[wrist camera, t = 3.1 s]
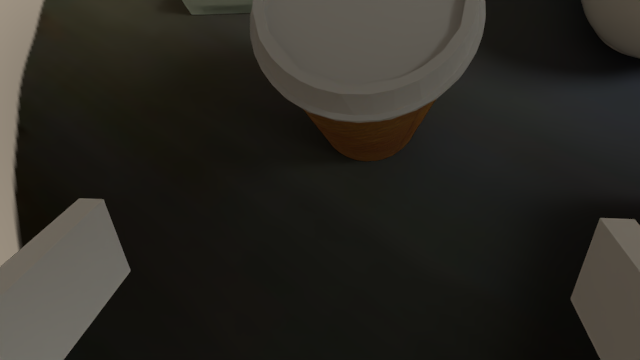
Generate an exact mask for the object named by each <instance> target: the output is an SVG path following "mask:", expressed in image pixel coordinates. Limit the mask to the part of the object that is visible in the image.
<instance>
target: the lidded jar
mask: <svg viewBox="0 0 640 360" xmlns="http://www.w3.org/2000/svg"><path fill="white" fill-rule="evenodd" d="M581 2H582V6H583V10H584V13H585V16H586V18H587V20H588V21H589V23H590V25H591V26H592V28H593V29H594V31H595V33H596V34H597V35H598V37H599V38H600V39H601V40H602V41H603V42H604V43H605V44H606V45H608V46H609V47H610V48H612V49H613V50H615V51H617V52H619V53H622V54H624V55H627V56H631V57H636V58H639V59H640V0H581Z"/></svg>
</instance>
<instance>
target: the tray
mask: <svg viewBox="0 0 640 360" xmlns="http://www.w3.org/2000/svg"><path fill="white" fill-rule="evenodd" d="M182 1H183V3H184V4H185V6H186V7H187V9H188V10H189V12H190V13H191V15H204V14H238V13H251V9H252V5H253V0H182Z"/></svg>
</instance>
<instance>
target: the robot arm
mask: <svg viewBox="0 0 640 360" xmlns="http://www.w3.org/2000/svg"><path fill="white" fill-rule="evenodd" d="M130 271H131V270H130V268H129V265H128V263H127V260H126V257H125V255H124V252H123V249H122V247H121V244H120V242H119V239H118V236H117V234H116V231H115V228H114V226H113V223H112V220H111V218H110V215H109V213H108V210H107V207H106V205H105V202H104V199H84V198H79V199H78V200H77V201H76V202H75V203H73V204H72V205H71V206H70V207H69V208H68V209H66V210H65V211H64V212H63V213H62V214H61V215H60V216H58V217H57V218H56V219H55V220H54V221H53V222H51V223H50V224H49V225H48V226H47V227H46V228H45V229H43V230H42V231H41V232H40V233H39V234H38V235H36V236H35V237H34V238H33V239H32V240H31V241H30V242H28V243H27V244H26V245H25V246H24V247H23V248H21V249H20V250H19V251H18V252H17V253H16V254H15V255H13V256H12V257H11V258H10V259H9V260H8V261H7V262H5V263H4V264H3V265H2V266H1V267H0V360H64V358H65V357H66V356H67V354H68V353H69V352H70V351H71V349H72V348H73V347H74V345H75V344H76V343H77V341H78V340H79V339H80V337H81V336H82V335H83V333H84V332H85V331H86V329H87V328H88V327H89V325H90V324H91V323H92V321H93V320H94V319H95V317H96V316H97V315H98V313H99V312H100V311H101V310H102V308H103V307H104V306H105V304H106V303H107V302H108V300H109V299H110V298H111V296H112V295H113V294H114V292H115V291H116V290H117V288H118V287H119V286H120V284H121V283H122V282H123V280H124V279H125V278H126V276H127V275H128V274H129V272H130ZM570 300H571V302H572V304H573V306H574V308H575V310H576V312H577V314H578V316H579V318H580V320H581V322H582V324H583V326H584V328H585V330H586V332H587V334H588V336H589V338H590V340H591V342H592V344H593V346H594V348H595V350H596V352H597V354H598V356H599V358H600V360H640V225H639V224H638V222H637V221H636V220H635V219H616V218H600V219H599V222H598V224H597V227H596V230H595V233H594V235H593V238H592V241H591V244H590V246H589V249H588V252H587V255H586V257H585V260H584V263H583V266H582V268H581V271H580V274H579V277H578V279H577V282H576V285H575V288H574V290H573V293H572V296H571V299H570Z"/></svg>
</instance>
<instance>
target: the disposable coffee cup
mask: <svg viewBox="0 0 640 360" xmlns="http://www.w3.org/2000/svg"><path fill="white" fill-rule="evenodd" d="M485 19H486V6H485V0H253V5H252V9H251V14H250V38H251V42H252V47H253V51H254V55H255V57H256V59H257V61H258V64H259V66H260V68H261V70H262V72H263V73H264V74H265V76H266V77H267V78H268V80H269V81H270V83H271V84H272V85H273V86H274V87H275V88H276V89H277V90H278V91H279V92H280V93H281V94H282V95H283V96H284V97H285V98H286V99H287V100H289V101H291V102H292V103H294V104H296V105H297V106H299V107H301V108H302V109H303V110H304V111H305V112H306V114H307V115H308V116H309V117H310V119H311V120H312V121H313V122H314V124H315V125H316V126H317V127H318V129H319V130H320V131H321V132H322V133H323V135H324V136H325V137H326V138H327V140H328V141H329V142H330V144H331V145H332V146H333V147H334V148H335V149H336V150H337V151H338V152H340V153H341V154H343V155H345V156H346V157H349V158H352V159H355V160H360V161H377V160H381V159H385V158H387V157H390V156H392V155H394V154H395V153H397V152H398V151H400V150H401V149H402V148H403V147H404V146H405V145H406V144H407V143H408V142H409V141H410V139H411V137H412V136H413V134H414V132H415V131H416V129H417V128H418V126H419V125H420V123H421V122H422V120H423V119H424V117H425V115H426V114H427V112H428V111H429V109H430V108H431V106H432V105H433V103H434V102H435V100H436V99H437V98H438V97H440V96H441V95H442V94H443V93H444V92H445V91H446V90H447V89H448V88H449V87H451V86H452V85H453V84H454V83H455V82H456V81H457V80H458V79H459V78H460V77H461V76H462V74H463V73H464V72H465V70H466V69H467V67H468V65H469V64H470V62H471V61H472V59H473V57H474V55H475V54H476V52H477V49H478V47H479V44H480V41H481V39H482V36H483V30H484V25H485Z"/></svg>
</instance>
